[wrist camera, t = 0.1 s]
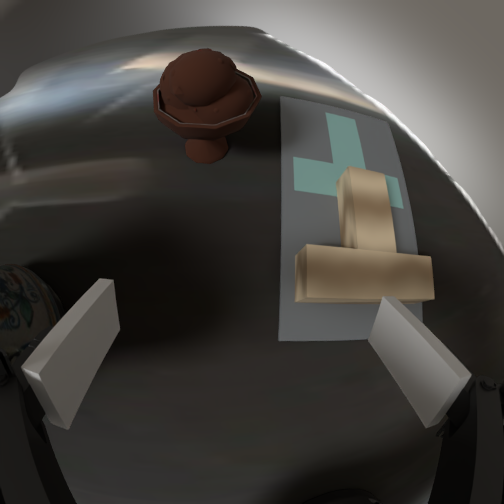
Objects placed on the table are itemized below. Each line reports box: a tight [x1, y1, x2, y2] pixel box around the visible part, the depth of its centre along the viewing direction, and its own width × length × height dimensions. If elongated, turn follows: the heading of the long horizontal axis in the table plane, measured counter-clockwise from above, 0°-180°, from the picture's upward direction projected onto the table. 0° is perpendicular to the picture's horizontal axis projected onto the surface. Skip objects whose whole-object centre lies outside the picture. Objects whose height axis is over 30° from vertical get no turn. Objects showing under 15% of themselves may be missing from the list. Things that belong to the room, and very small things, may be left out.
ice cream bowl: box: [153, 49, 262, 164], centre depth 25 cm, size 11×11×15 cm
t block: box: [295, 166, 435, 304], centre depth 29 cm, size 15×16×4 cm
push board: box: [278, 96, 423, 341], centre depth 33 cm, size 34×19×1 cm, turn 177°
